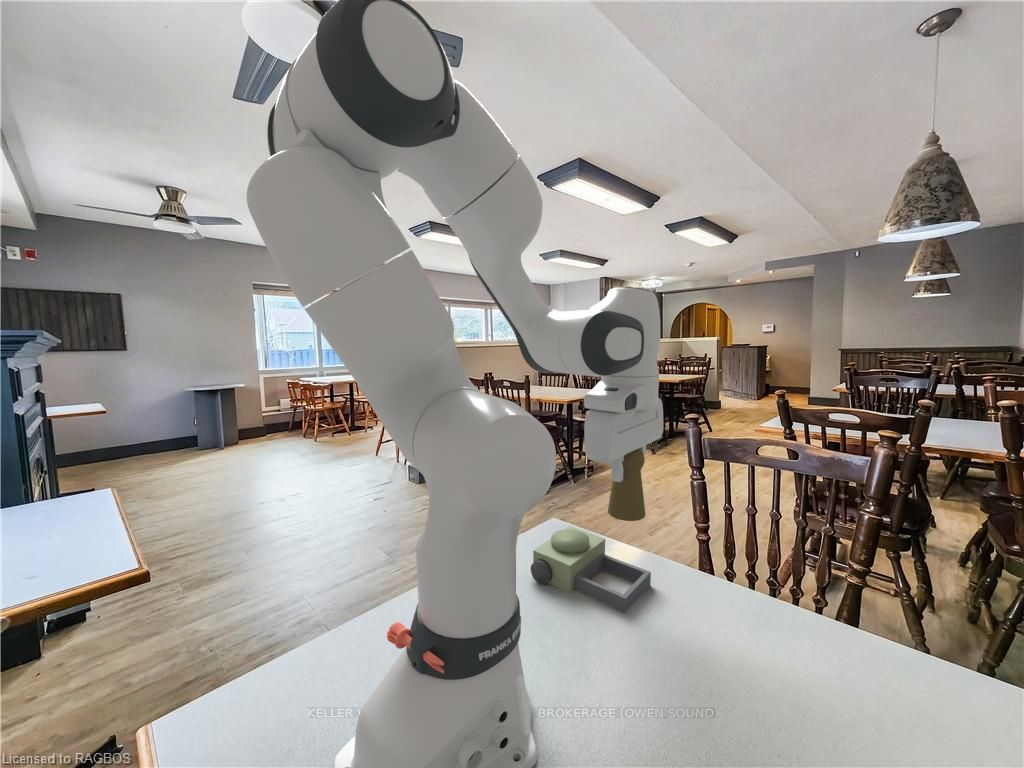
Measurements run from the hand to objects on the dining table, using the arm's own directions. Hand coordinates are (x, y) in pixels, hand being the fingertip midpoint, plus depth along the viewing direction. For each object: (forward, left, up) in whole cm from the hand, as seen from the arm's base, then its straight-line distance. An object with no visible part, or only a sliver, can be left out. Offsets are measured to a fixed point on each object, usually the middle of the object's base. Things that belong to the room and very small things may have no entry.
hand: (626, 475), depth 70 cm
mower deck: (0, +6, -21) cm, 22 cm away
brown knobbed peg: (0, 0, -7) cm, 7 cm away
